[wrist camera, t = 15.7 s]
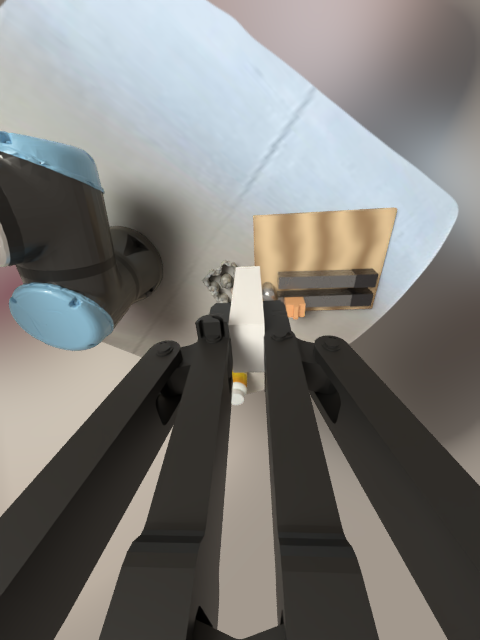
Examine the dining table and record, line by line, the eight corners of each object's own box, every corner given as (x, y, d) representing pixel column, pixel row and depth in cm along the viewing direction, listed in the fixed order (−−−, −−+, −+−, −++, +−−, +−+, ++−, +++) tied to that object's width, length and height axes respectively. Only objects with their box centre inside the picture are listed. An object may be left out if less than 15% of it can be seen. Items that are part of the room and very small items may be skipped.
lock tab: (284, 309, 52) (286, 319, 49) (284, 297, 50) (286, 306, 47) (301, 308, 52) (305, 319, 48) (302, 296, 50) (306, 306, 47)
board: (256, 309, 57) (256, 312, 56) (253, 215, 46) (253, 216, 45) (369, 305, 56) (371, 308, 55) (394, 207, 45) (397, 208, 44)
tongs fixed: (261, 302, 55) (262, 312, 51) (261, 282, 52) (262, 291, 49) (364, 298, 53) (373, 309, 50) (369, 277, 51) (378, 287, 47)
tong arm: (277, 283, 52) (278, 289, 50) (277, 271, 51) (279, 276, 48) (369, 281, 51) (375, 287, 49) (372, 268, 50) (378, 274, 47)
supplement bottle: (247, 378, 69) (246, 407, 61) (227, 378, 69) (224, 407, 61) (247, 363, 66) (247, 392, 58) (227, 363, 66) (223, 391, 58)
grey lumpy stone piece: (258, 295, 56) (258, 304, 52) (229, 310, 58) (228, 319, 55) (232, 254, 51) (231, 261, 47) (202, 272, 53) (199, 280, 50)
